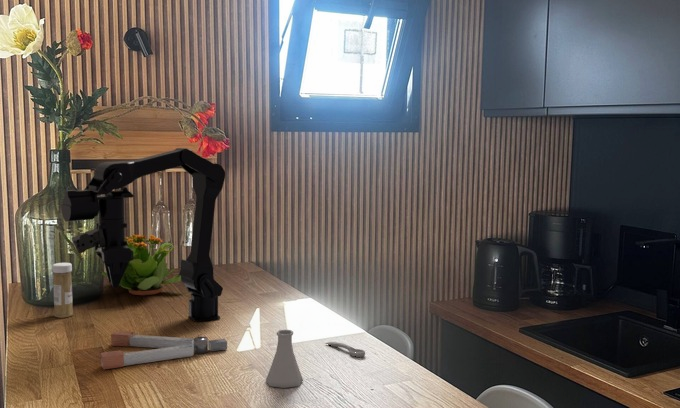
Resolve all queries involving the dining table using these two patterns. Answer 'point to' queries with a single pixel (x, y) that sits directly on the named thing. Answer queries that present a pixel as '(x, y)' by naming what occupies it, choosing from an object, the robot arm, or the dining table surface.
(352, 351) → the spoon
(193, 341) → the tong arm
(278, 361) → the flask
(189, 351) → the tongs fixed
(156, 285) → the potted flower
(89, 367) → the dining table surface
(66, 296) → the sprinkles bottle
